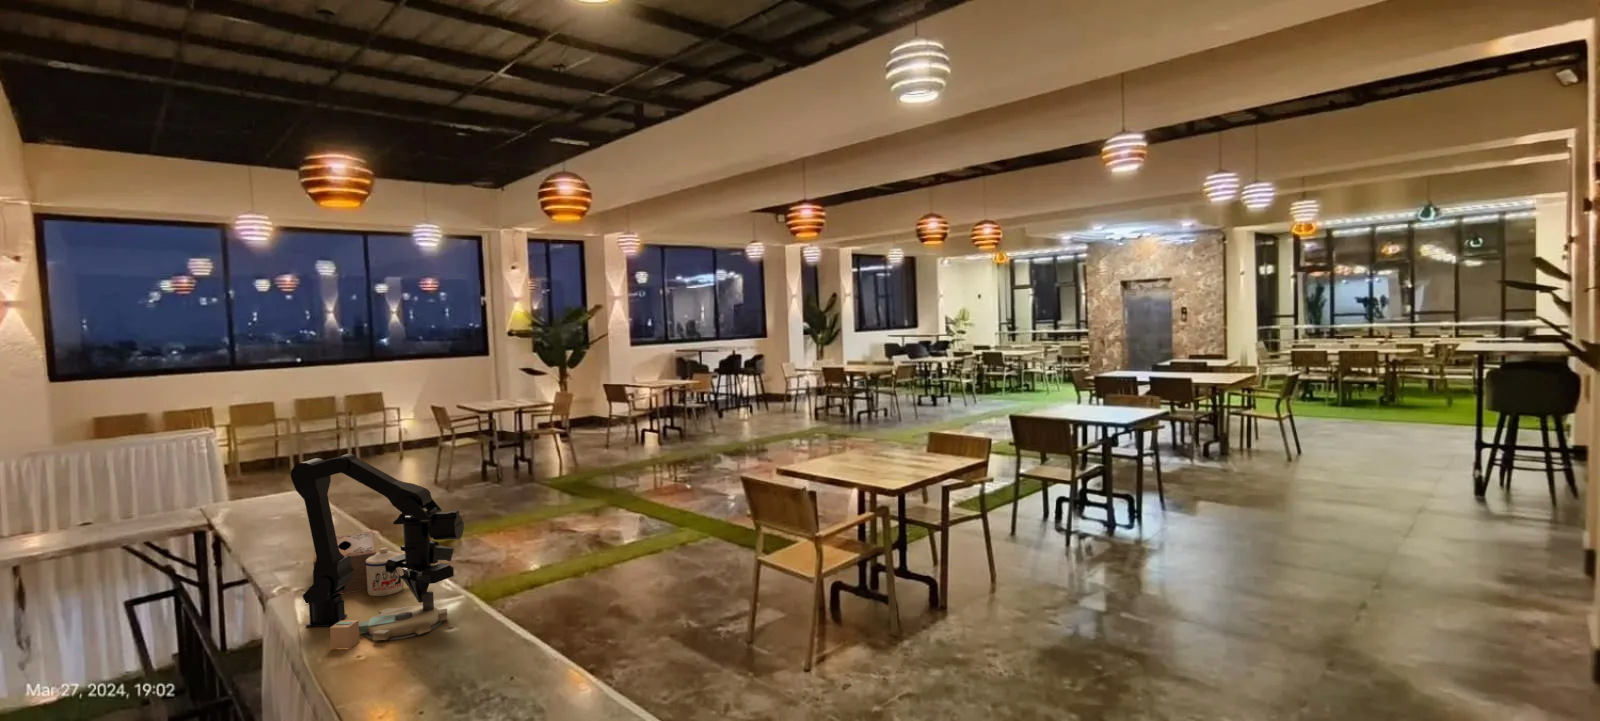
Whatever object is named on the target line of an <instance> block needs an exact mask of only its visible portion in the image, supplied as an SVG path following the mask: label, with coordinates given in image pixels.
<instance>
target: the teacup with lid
mask: <svg viewBox="0 0 1600 721" xmlns="http://www.w3.org/2000/svg"><path fill="white" fill-rule="evenodd" d="M400 555H403V554H402V553H401V552H394V551H392V550H389V548H388V547H382V548H380V549H379V551H378V552H376V554H375V555H374V556H371V557H369V558H368V559H367V560H366V562H365V564H366V571H367V589H366V590H367V594H368V595H369V596H372V597H383V596H389V595H394V594H396V593H398V592H401V591H402V590H403V589H404V587H405V582H404V580H403V579H401V576H402V575H403V570H402V568H401V567H398V568H396V570H395V572H394V573H390V572H386V569H385V564H386V562H387V561H388V559H391V558H394V557H397V556H400Z"/></svg>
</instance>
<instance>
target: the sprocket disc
mask: <svg viewBox="0 0 1600 721" xmlns="http://www.w3.org/2000/svg"><path fill="white" fill-rule="evenodd" d="M422 599H423V602H422V603H419V604H417V605H409V606H403V607H396V608H392V607H388V608H385V609H381V610H379V611H378V614H377V615H375V616H373V617H370V619H369V620H366V621H360V622H359V634H363V633H366V632H368V633H369V634H371V635H373V641H377V640H386V639H388V638H389V637H395V636H402V635H408V634H412V633H416V634H418V636H420V635H419V634H421V635H423V634H422V633H424V634H426V633H425V632H427V633H429V632H431V631H432V630H431V626H433V625H434V624H435V623H437V622H438V620H441V621H443V620H448V608H443V609H438V608H437V607H435V603H434V601H435V600H434V599H435V598H434V591H432V590H431V591H430V590H429V591H428V590H427V592H424V593H422ZM428 631H429V632H428Z"/></svg>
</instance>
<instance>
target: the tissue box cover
mask: <svg viewBox="0 0 1600 721" xmlns="http://www.w3.org/2000/svg"><path fill="white" fill-rule="evenodd" d="M336 538H337V543H338V548H339V551H340V553H341V554H342V555H343V556H344V557H346V556H349V555H350V557H351V565H352V567H353V569H354V571H353V572H352V578H351V579H350V581H349V582H348V583H347V584H346V586H345V589H344V590H343V591H341V592H340V593H343V594H348V593H347V592H349V593H354V592H353V591H355V592H359V591H365V590H368V589H367V571H366V564H365V562H366V560H367V559H368V558H369V557H371V556H374V555H375V554H376V553H377V552H376V546H375V539H374V533H373V530H371V531H363V532H357V533H350V534H343V535H336ZM313 551H314V553H313V560H312V561H313V565H312V566H314V565H315V561H316V553H315V550H313ZM340 593H339V594H340Z"/></svg>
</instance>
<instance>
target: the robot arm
mask: <svg viewBox="0 0 1600 721" xmlns="http://www.w3.org/2000/svg"><path fill="white" fill-rule="evenodd" d="M337 474H344V475H345V476H347V477H349V478H351V479H352V480H354V481H356V482H358V483H359V484H362V485H363V486H366V487H367V488H369V489H371V490H373V491H375V492H376V493H378V494H380V495H382V496H383V497H385V498H386V499H387V500H388V501H389V502H390V504H391V505H392V507H394V508H395V509H397V510H398V511H399V512H401V513H400V514H399V515H398V517H397V518H396V519H395V520H394V521H393V522H392V524H393V525H402V529H403V543H404V544H403V545H400V551H403V552H404V554H402V555H400V556H397V557H394V558H391V559H388V561H387V562H386V564H385V569H386V572H390V573H394V572H395V570H396V568H398V567H401V568H402V570H403V575H402V576H401V579H403V580H404V584H406V586H407V587H408V588H409V589H410V592H412V594H413V596H414V597H415V599H416V600H417V602H418V603H419V604H420V603H423V599H422V593H424V592H428V589H429V586H430V584H437V583H439V582H441V581H444V580H447V579H450V578H452V577H455V569H454V568H455V567H453V565H450V564H446V563H442V562H440V563H439V561H447V562H452V558H453V555H454V550H455V548H453V547H450V546H444V545H440V543H439V541H442V540H444V541H447V540H460V539H461V538H462V536H463V533H464V528H465V526H464V524H465V523H464V519H463V517H462V516H461V515H460V510H450V511H442V510H443V509H442V508H441V507H440V506H439V505H438V503H436V501H435V500H434V499H433V498H432V493H431V491H430V490H429V489H428V488H426V487H424V486H421V485H418V484H415V483H412V482H411V483H410V482H406V481H402V480H399V479H397V478H395V477H393V476H391V475H390V474H389V473H386V472H384V471H382V470H381V469H379V468H376V467H375V466H372V465H371V464H370V463H368V462H365V461H364V460H362V459H360V458H359V457H358V456H356V454H353V453H346V454H343V455H340V456H336V457H333V458H329V459H326V460H324V459H323V458H312V459H310V460H306V461H302V462H300V463H297V464H295V465H294V466H293V468H292V469H291V471H290V474H289V475H290V480H291V482H292V484H293V487H294V489H295V491H296V492H297V493H298V494H299V496H301V498H302V499H303V501H304V505H305V510H306V514H307V519H308V520H307V521H308V525H309V528H310V534H311V538H312V544H313V547H314V551H315V553H316V561H315V565H313V570H312V585H311V586H310V587H309V588H308V589H307V590H306V591H305V592H304V593H303V594H302V598H303V600H304V602H305V604H308V609H309V611H308V612H309V622H307V623H306V624H305V627H306V628H307V627H332V626H333V625H335V624H336V623H338V622H339V621H343V619H344V620H345V618H347V617H348V614H347V613H345V612H346V611H345V601H344V600H343V594H339V593H340V592H341V591H343V590H344V589H345V586H346V584H347V583H348V582H349V581H350V579H351V578H352V572H353V571H354V569H353V567H352V565H351V557H350V555H349V556H346V557H344V556H343V555H342V554H341V553H340V551H339V548H338V543H337V538H336V536H337V534H336V530H335V524H334V520H333V516H332V510H331V505H330V500H329V497H328V493H329V489H330V486H331V476H332V475H337ZM431 539H433V540H431ZM438 540H439V541H438Z"/></svg>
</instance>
